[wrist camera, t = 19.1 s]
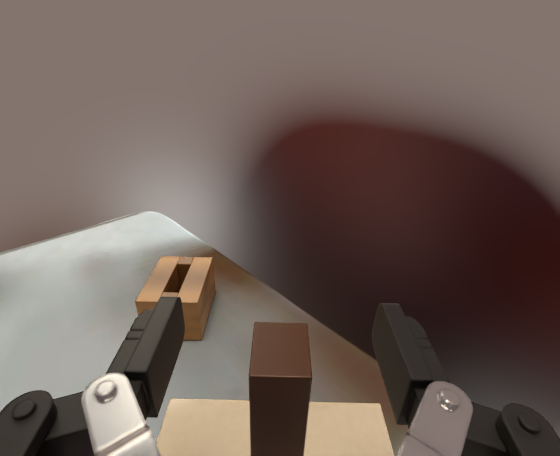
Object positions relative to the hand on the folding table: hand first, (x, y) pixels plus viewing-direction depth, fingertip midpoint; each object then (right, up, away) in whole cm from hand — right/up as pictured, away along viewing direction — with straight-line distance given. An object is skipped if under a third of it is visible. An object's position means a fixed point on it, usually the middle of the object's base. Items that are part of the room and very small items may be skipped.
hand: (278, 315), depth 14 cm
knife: (0, -15, +6) cm, 17 cm away
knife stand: (-11, -6, +24) cm, 27 cm away
